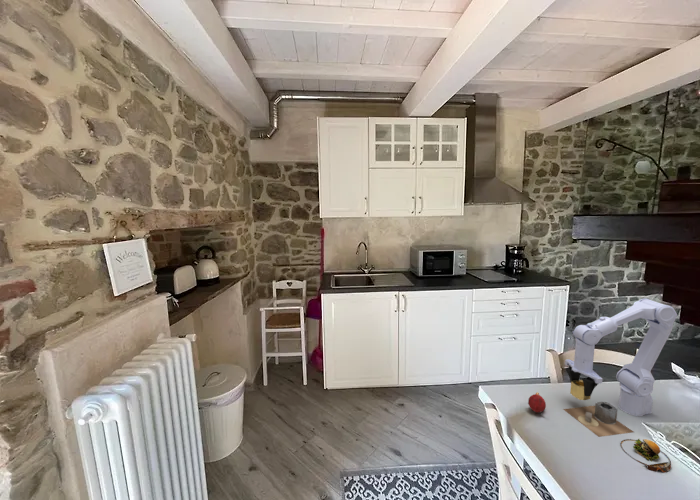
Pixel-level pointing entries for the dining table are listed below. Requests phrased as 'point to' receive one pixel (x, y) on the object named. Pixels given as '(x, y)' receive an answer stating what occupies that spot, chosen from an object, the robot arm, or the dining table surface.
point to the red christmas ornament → (537, 403)
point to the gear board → (596, 422)
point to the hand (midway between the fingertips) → (580, 391)
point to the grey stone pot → (605, 412)
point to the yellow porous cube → (578, 390)
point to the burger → (650, 454)
